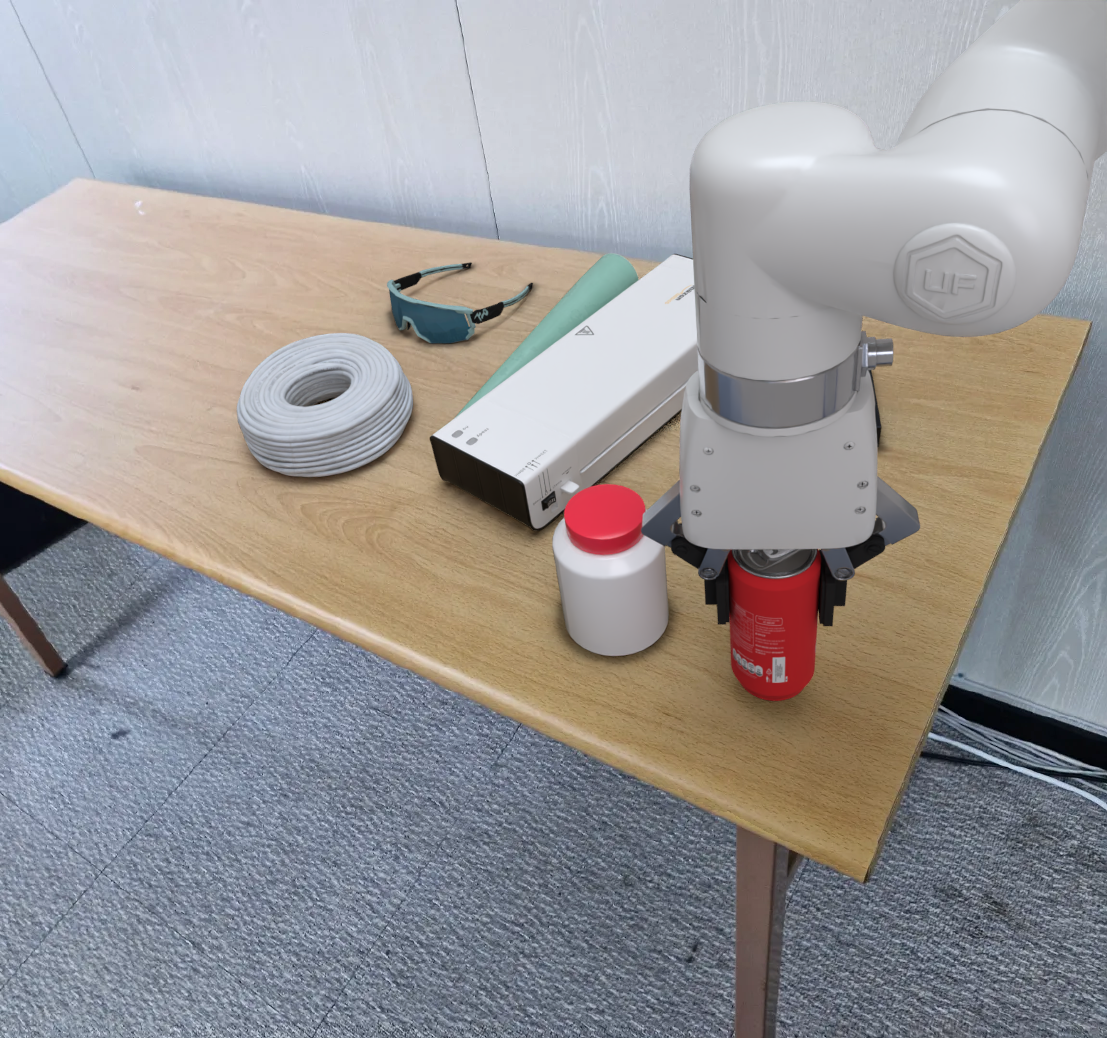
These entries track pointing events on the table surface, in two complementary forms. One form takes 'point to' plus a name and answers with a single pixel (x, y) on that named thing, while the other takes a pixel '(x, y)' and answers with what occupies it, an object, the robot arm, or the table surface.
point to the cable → (324, 405)
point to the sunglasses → (440, 310)
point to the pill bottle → (610, 572)
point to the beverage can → (773, 619)
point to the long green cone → (567, 315)
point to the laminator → (578, 402)
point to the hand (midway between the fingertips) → (773, 606)
